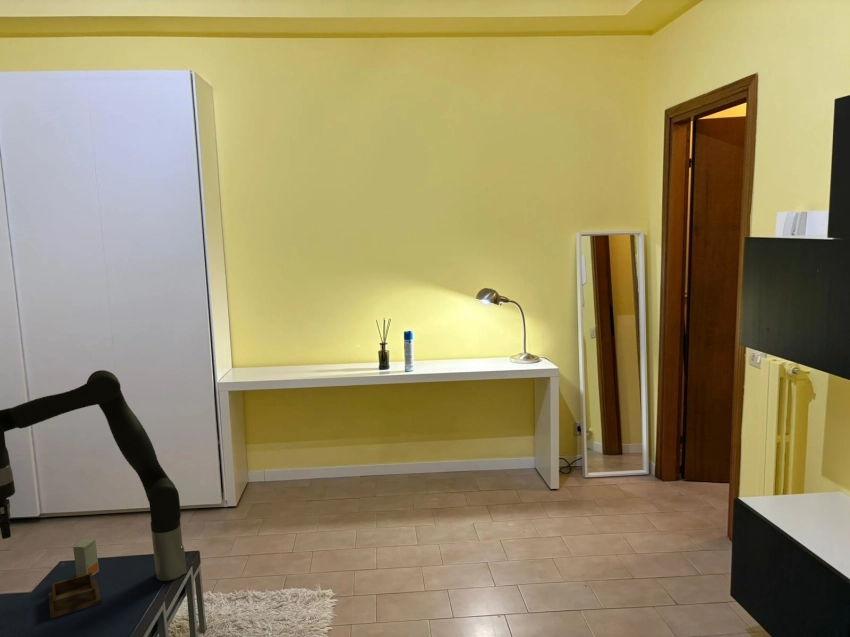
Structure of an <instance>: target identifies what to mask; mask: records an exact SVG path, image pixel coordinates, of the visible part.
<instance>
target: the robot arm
mask: <svg viewBox="0 0 850 637" xmlns="http://www.w3.org/2000/svg"><path fill="white" fill-rule="evenodd" d="M96 405H98V407H99V408H100V409H101V411H102V412H103V414H104V416H105V419H106V421H107V424H108V427H109V430H110V433H111V434H112V437H113V439H114V441H115V443H116V445H117V447H118V449H119V451H120V452H121V455H123V457H124V459H125V460H126V462H127V463H128V464H129V466H131V467H132V469H133V470H134V471H135V472H136V474H137V475H138V478H139V479H140V480H139V481H141V484H142V487H143V488H144V492H145V495H146V498H147V501H148V504H149V512H150V531H151V540H152V541H151V542H152V548H153V559H154V566H155V567H154V568H155V574H156V579H157V580H158V581H163V582H165V581H166V582H167V581H168V582H169V581H172V580H176V579H178V578H181V577H183V575H185V574H187V563H186V561H187V560H186V552H185V546H184V545H183V537H182V536H183V535H182V534H183V533H182V526H181V516H182V515H181V503H180V495H179V491H178V489H177V487H176V486H175V484H174V482H173V481H172V480H171V479H170V477H169V476H168V475H167V473H166V471H165V470H164V469H163V467H162V466H161V464H160V462H159V459H158V456H157V453H156V451H155V448H154V445H153V444H152V441H151V439H150V437H149V435H148V433H147V431H146V429H145V427H144V426H143V424H142V423H141V421H140V420H139V419H138V418H139V417H137V416H136V414H135V413H134V412H133V410H132V409H131V408H130V406H129V405H128V403H127V401H126V399H125V397H124V394H123V391H122V390H121V383H120V381H119V379H118V377H117V376H116V375H115V374H114V373H112V372H111V371H108V370H106V369H105V370H104V369H100V370H97V371H94V372H92V373H91V374H90V375H89V377H88V378H87V380H86V383H84V384H83V385H81V386H78V387H75V388H74V389H71V390H68V391H67V390H66V391H64V392H61V393H56V394H51V395H45V396H41V397H38V398H35V399H32V400H29V401H26V402H23V403H21V404H18V405H15V406H12V407H8V408H3V409H0V533H1V538H2V540H6V539H10V538H11V537H12V534H11V527H10V526H11V522H10V518H11V510H10V509H11V502H10V499H9V498H11V497H12V496H14V495H15V493H16V486H15V483H14V482H15V481H14V474H13V468H12V466H11V462H10V454H9V450H8V448H7V446H6V437H5V435H6V434H5V432H8V431H11V430H15V429H25V428H28V427H31V426H34V425H36V424H38V423H42V422H44V421H47V420H49V419H52V418H53V419H54V418H55V417H57V416H60V415H63V414H67V413H69V412H72V411H76V410H80V409H82V408H83V409H84V408H88V407H92V406H96Z"/></svg>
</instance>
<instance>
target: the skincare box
mask: <svg viewBox="0 0 850 637" xmlns="http://www.w3.org/2000/svg"><path fill="white" fill-rule="evenodd" d="M97 549H98V548H97V541H96V539H95V538H84V539H82V540H81V541H79V542H78V543H77V544H75V545H74V546H73V547H72V550H73V556H74V558H73V559H74V565H75V572H76V573H75V574H76V577H78V576H81V575H85V574H88V573H92V577H93V576H94V575H96V574H97V573H99V571H100V569H99V560H98V559H99V558H98V550H97Z"/></svg>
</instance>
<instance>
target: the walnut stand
mask: <svg viewBox="0 0 850 637" xmlns="http://www.w3.org/2000/svg"><path fill="white" fill-rule="evenodd" d="M48 602H49V603H48V604H49V605H48V606H49V616H50V619H54V618H58V617H61V616H63V615H68V614H70V613H73V612H78V611H80V610H83V609H87V608H89V607H92V606H96V605H99V604H102V599H101V595H100V588H99V584H98V580H97V579H94V578H93V576H92V573H88V574H85V575H81V576H78V577H77V576H75V577H72V578H71V577H70V578H68V579H64V580H61V581H57V582H53V583H51V592H48Z"/></svg>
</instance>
